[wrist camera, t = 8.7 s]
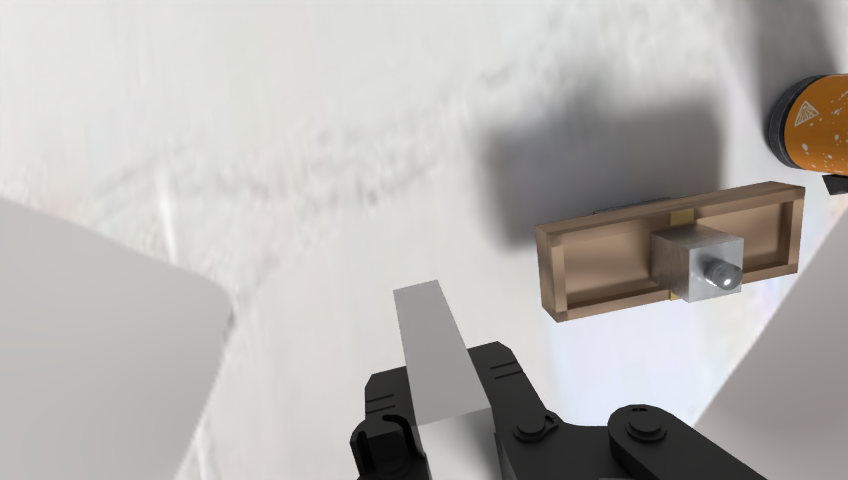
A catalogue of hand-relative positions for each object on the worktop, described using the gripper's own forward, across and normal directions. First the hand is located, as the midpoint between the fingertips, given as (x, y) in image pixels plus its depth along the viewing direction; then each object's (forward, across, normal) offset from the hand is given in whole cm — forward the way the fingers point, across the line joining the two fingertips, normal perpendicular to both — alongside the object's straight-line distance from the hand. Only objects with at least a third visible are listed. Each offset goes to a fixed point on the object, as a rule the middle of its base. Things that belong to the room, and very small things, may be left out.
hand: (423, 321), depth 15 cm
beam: (+28, +24, -11) cm, 38 cm away
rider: (+22, +24, -11) cm, 34 cm away
